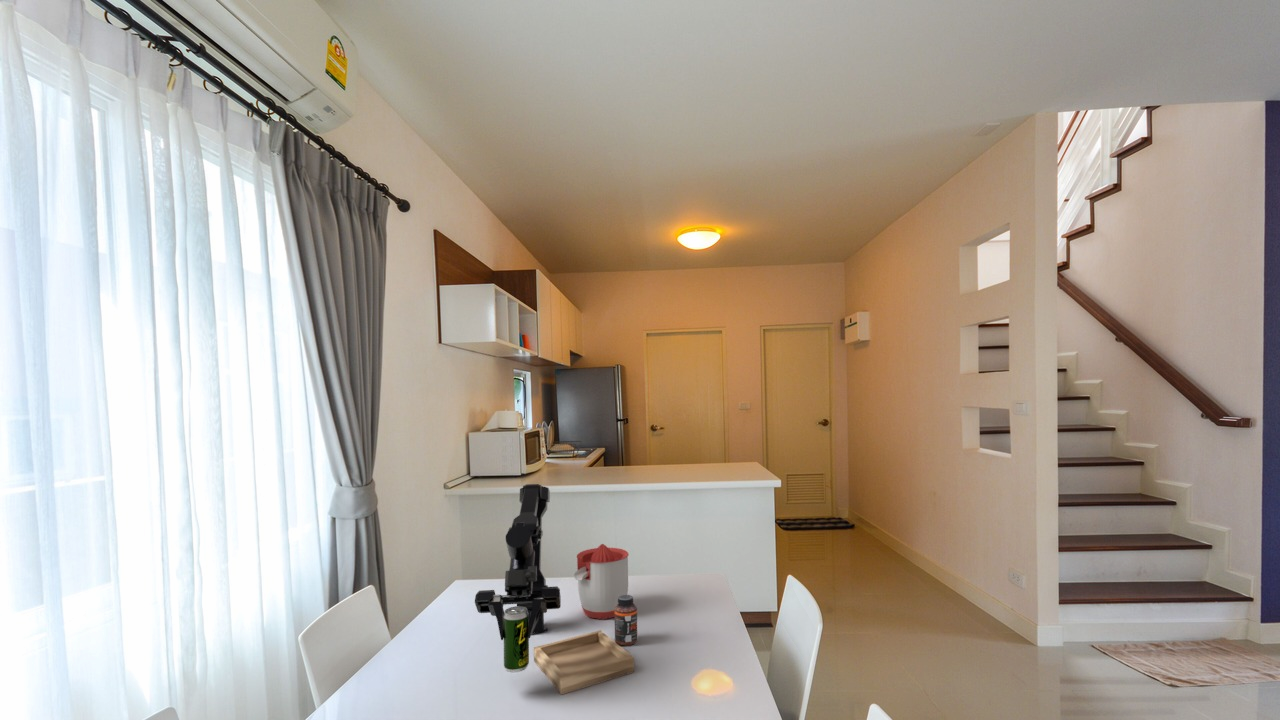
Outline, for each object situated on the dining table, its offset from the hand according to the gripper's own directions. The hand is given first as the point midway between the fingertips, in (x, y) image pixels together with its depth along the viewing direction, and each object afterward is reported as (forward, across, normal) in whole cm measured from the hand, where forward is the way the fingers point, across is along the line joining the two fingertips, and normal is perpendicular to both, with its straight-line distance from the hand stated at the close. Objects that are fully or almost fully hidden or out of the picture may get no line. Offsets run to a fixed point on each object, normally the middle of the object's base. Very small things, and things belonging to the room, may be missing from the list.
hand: (515, 638), depth 117 cm
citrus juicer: (-22, +19, +39) cm, 49 cm away
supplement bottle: (-7, +25, +25) cm, 36 cm away
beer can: (+4, 0, +6) cm, 7 cm away
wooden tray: (+1, +14, +16) cm, 22 cm away
